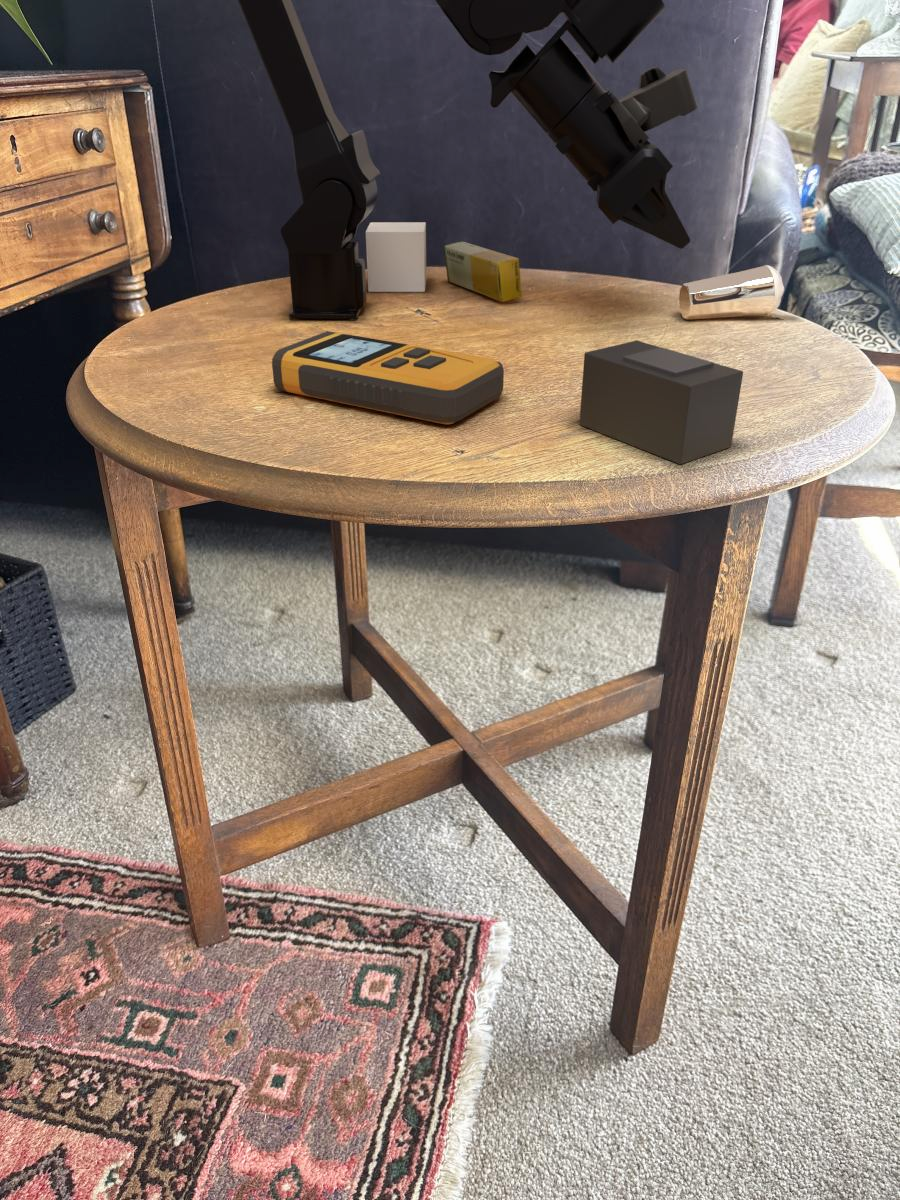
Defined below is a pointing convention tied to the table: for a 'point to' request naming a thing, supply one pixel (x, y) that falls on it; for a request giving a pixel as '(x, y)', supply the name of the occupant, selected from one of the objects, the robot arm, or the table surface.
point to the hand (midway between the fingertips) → (685, 244)
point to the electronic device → (388, 376)
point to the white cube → (396, 256)
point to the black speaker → (660, 400)
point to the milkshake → (733, 295)
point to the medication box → (483, 271)
